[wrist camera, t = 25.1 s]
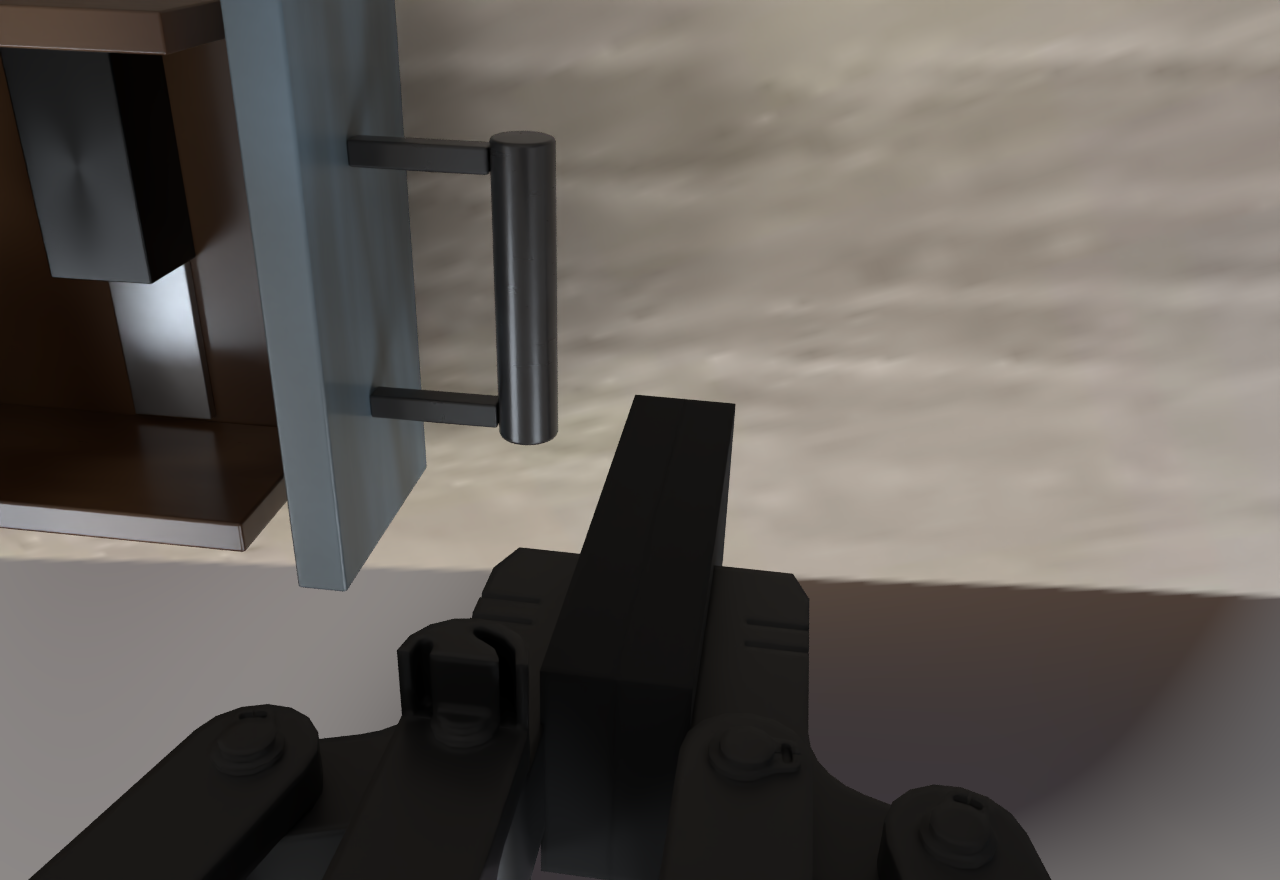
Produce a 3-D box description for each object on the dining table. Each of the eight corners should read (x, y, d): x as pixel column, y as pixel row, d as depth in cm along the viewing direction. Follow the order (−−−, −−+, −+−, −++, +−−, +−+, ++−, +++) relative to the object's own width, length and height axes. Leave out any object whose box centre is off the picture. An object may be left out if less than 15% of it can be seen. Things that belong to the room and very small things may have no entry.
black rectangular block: (55, 26, 26) (-5, 38, 25) (158, 30, 26) (106, 42, 24) (134, 409, 31) (88, 445, 29) (223, 415, 31) (183, 452, 29)
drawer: (585, -38, 25) (522, -14, 20) (583, 481, 31) (534, 612, 26) (-182, -67, 27) (-435, -53, 22) (-45, 425, 33) (-216, 535, 28)
